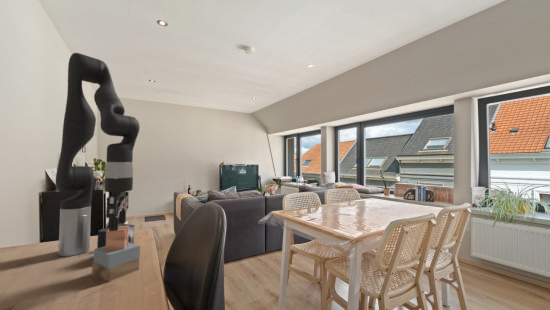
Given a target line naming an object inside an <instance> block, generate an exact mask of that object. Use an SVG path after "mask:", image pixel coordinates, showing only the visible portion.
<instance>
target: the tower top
mask: <svg viewBox="0 0 550 310" xmlns="http://www.w3.org/2000/svg"><path fill="white" fill-rule="evenodd" d="M140 248H141V247H140V245H139V244H136V243H134V244H133V243H129V242H128V245H127V246H126V248H125V249H118V250H109V251H106V246H104V247H101V248H95V249H94V251H93V263H97V264H99V265H101V266H103V267H106V268H108V269H110V268H112V267H115V266H118V265H121V264H124V263H127V262H130V261H133V260H136V259H139V260H140V250H141V249H140Z"/></svg>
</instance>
